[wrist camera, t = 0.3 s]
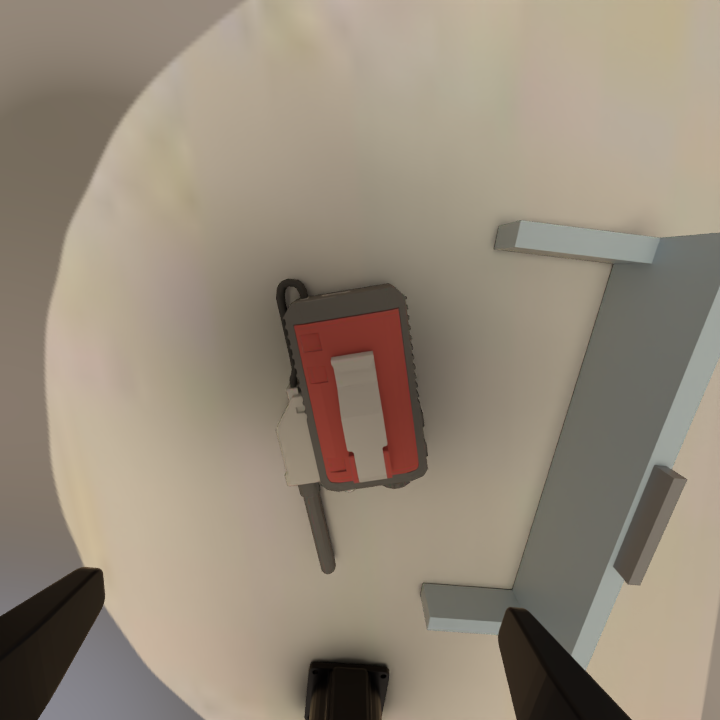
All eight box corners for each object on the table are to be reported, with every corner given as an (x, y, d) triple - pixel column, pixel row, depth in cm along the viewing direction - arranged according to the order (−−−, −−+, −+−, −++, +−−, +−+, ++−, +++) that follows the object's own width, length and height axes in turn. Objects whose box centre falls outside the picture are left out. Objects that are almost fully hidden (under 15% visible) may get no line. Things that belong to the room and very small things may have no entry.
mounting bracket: (523, 603, 26) (583, 723, 19) (420, 595, 25) (444, 715, 19) (641, 243, 18) (805, 232, 12) (498, 226, 18) (583, 203, 11)
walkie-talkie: (248, 285, 19) (316, 557, 25) (217, 291, 15) (308, 618, 20) (399, 259, 19) (433, 540, 24) (411, 258, 15) (450, 598, 20)
